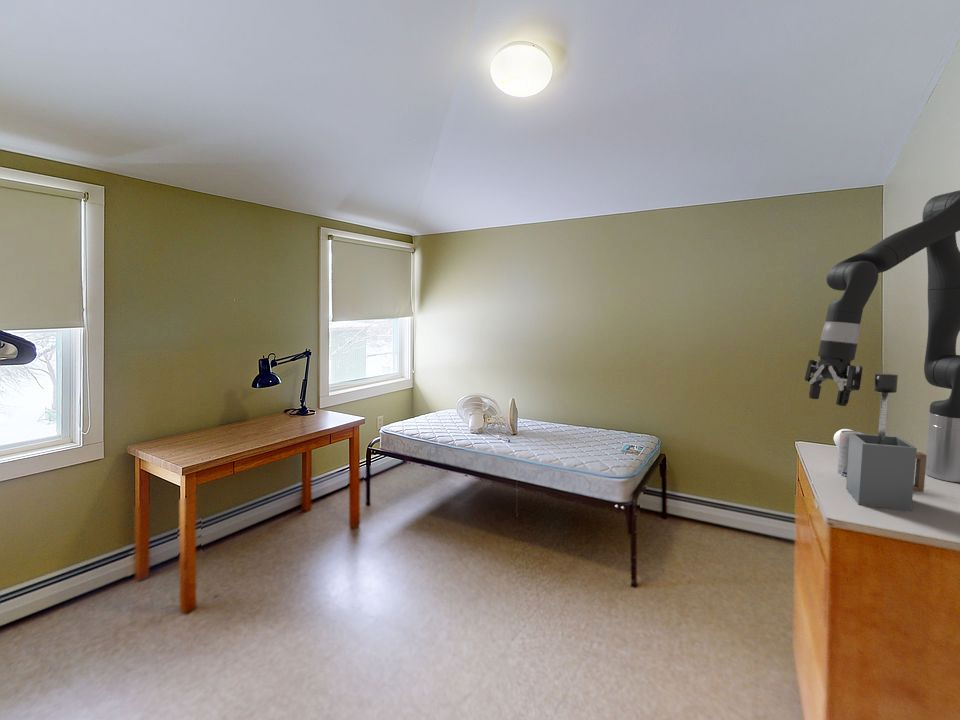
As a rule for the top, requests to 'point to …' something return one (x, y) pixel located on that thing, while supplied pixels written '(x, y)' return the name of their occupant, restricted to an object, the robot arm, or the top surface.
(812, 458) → the top surface
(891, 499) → the grey square mug
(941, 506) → the top surface
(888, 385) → the plunger
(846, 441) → the energy drink
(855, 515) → the top surface
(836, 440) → the lightbulb
